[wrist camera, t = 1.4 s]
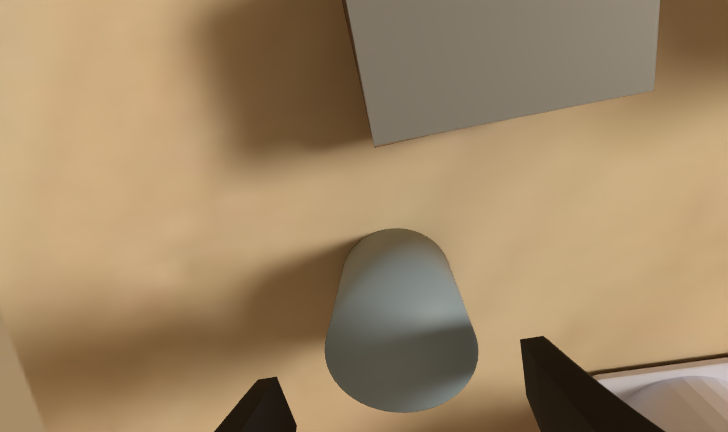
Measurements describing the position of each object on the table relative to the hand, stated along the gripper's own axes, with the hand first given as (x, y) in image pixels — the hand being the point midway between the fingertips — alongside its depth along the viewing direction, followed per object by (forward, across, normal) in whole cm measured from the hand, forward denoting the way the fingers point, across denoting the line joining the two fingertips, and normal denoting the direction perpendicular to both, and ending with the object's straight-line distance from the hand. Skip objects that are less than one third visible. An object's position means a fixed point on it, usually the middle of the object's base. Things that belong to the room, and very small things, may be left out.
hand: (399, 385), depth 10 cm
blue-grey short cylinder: (+6, 0, 0) cm, 6 cm away
